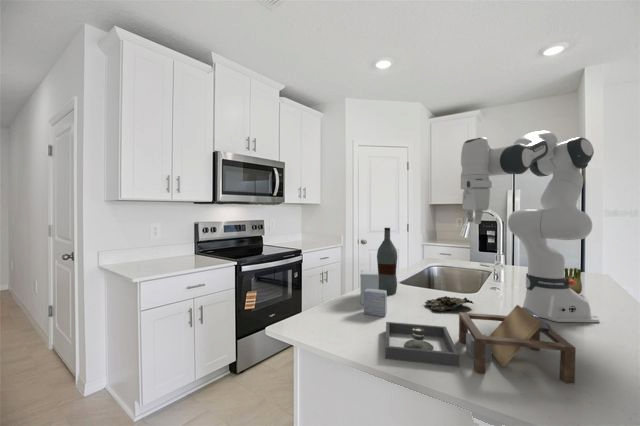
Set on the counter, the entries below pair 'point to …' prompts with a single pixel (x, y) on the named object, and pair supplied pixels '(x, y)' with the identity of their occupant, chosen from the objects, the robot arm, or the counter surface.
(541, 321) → the trapdoor
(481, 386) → the counter surface
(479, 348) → the trapdoor frame
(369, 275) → the supplement box
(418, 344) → the grey knobbed disc
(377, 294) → the medicine box
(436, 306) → the decorative rock
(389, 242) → the bottle
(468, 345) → the stone block
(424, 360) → the cup mat rim
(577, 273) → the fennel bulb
